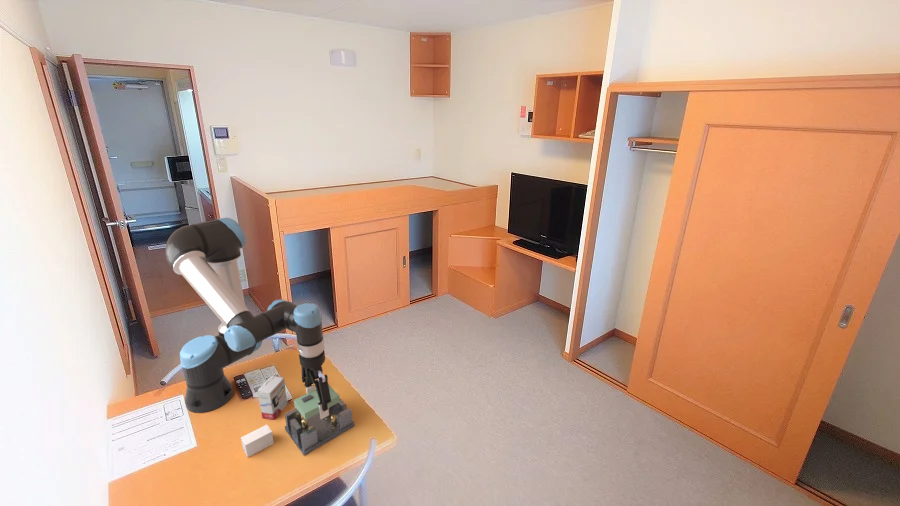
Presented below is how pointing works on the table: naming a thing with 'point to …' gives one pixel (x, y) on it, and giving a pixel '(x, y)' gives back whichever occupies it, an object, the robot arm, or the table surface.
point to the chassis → (318, 427)
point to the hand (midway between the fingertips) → (318, 409)
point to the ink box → (272, 397)
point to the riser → (257, 440)
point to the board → (313, 403)
